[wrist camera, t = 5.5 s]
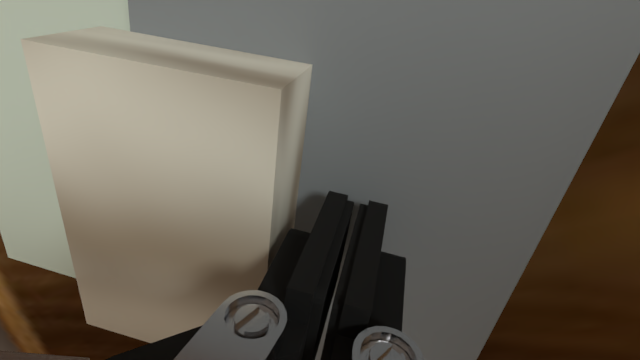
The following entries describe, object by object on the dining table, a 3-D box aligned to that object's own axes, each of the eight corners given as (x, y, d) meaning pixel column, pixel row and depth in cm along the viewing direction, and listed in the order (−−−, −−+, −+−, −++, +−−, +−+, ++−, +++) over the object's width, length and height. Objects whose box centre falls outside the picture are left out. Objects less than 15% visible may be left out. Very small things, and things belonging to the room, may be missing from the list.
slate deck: (202, -247, 11) (99, -349, 7) (676, -196, 9) (824, -295, 6) (200, 313, 22) (158, 378, 18) (420, 381, 20) (419, 466, 17)
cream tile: (101, 25, 11) (20, 39, 9) (312, 64, 10) (281, 89, 8) (134, 273, 15) (86, 323, 13) (284, 315, 14) (259, 376, 12)
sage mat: (-151, -285, 12) (-159, -288, 12) (202, -247, 11) (199, -250, 11) (11, 255, 23) (8, 257, 23) (200, 313, 22) (199, 316, 21)
